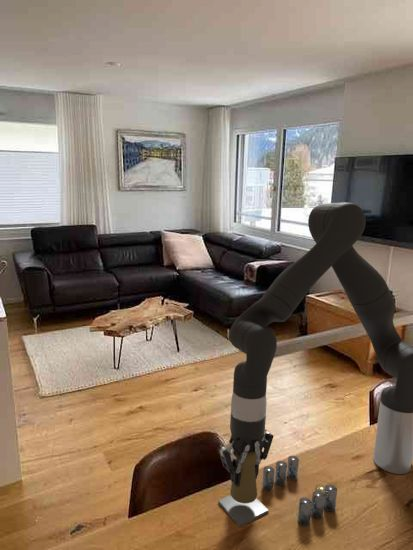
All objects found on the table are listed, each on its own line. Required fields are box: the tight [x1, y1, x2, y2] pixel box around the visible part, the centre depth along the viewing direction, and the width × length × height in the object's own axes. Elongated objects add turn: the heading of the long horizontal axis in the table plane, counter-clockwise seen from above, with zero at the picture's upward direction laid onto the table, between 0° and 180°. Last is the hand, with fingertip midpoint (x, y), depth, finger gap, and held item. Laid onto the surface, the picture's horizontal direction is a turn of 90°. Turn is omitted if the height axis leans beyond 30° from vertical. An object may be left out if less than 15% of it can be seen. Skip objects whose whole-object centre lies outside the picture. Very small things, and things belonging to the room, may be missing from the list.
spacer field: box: [261, 455, 338, 527], centre depth 96 cm, size 11×15×5 cm
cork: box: [229, 451, 258, 503], centre depth 92 cm, size 6×6×11 cm
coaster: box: [218, 494, 269, 527], centre depth 93 cm, size 8×8×1 cm
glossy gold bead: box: [314, 483, 327, 495], centre depth 99 cm, size 3×3×1 cm
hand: (244, 480), depth 92 cm, fingers closed on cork, 4 cm apart
